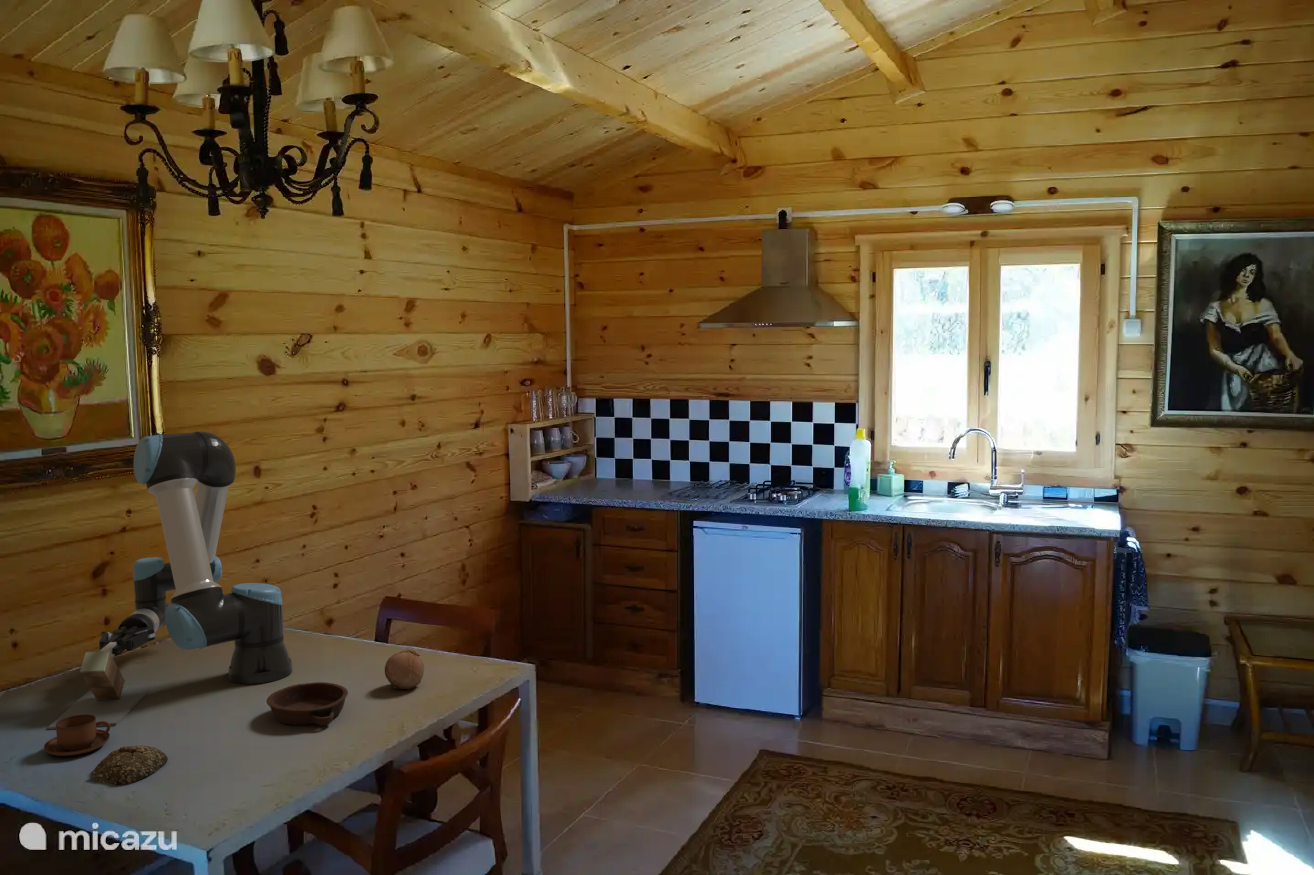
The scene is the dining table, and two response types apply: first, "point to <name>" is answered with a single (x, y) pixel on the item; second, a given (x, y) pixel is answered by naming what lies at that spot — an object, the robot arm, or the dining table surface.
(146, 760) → the bread roll
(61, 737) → the cup and saucer
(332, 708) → the dish
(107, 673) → the walnut block
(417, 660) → the onion
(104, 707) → the rubber mat
